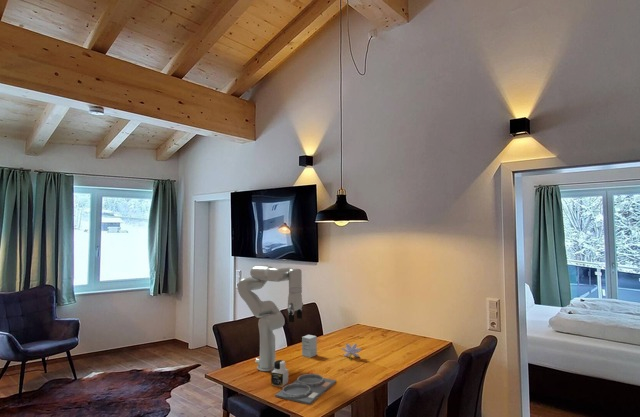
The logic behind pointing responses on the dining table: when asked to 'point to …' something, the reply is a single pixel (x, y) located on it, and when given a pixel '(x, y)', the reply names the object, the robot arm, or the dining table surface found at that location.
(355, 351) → the water lily
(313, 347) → the supplement box
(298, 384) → the steel rings
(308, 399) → the socket board
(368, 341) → the dining table surface
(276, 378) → the medicine bottle
